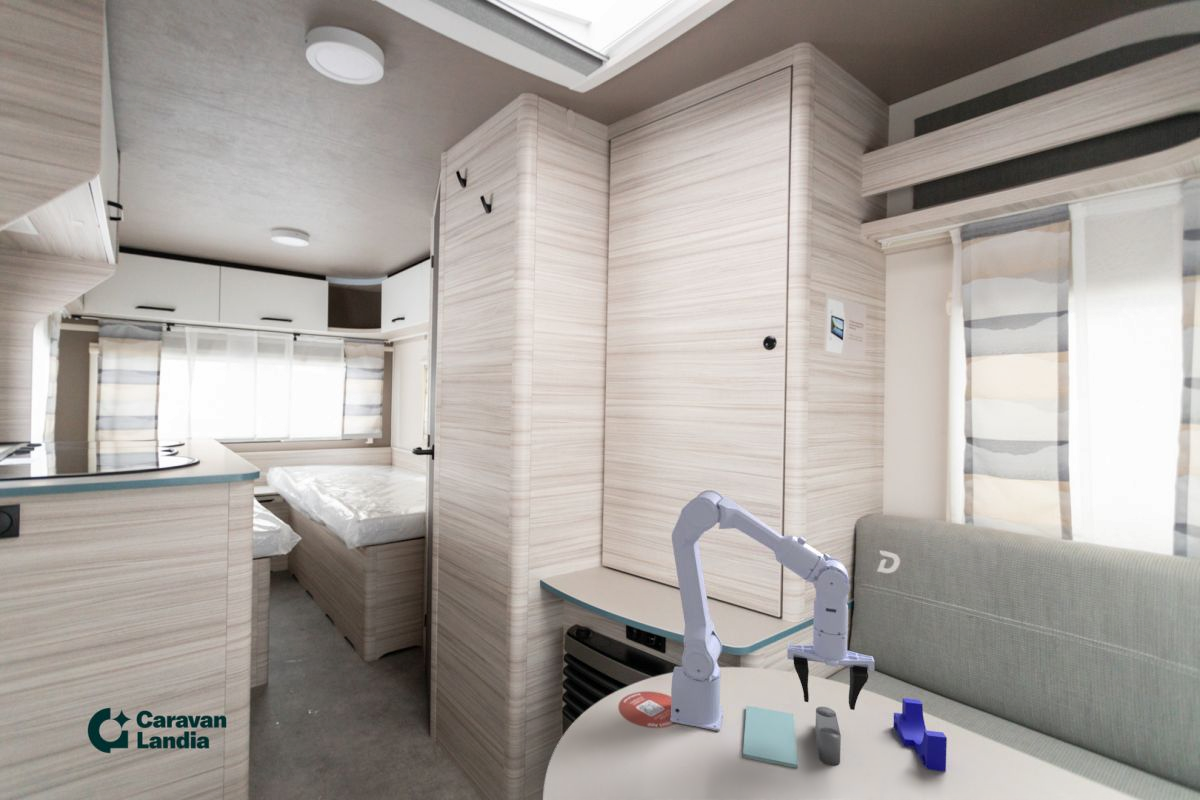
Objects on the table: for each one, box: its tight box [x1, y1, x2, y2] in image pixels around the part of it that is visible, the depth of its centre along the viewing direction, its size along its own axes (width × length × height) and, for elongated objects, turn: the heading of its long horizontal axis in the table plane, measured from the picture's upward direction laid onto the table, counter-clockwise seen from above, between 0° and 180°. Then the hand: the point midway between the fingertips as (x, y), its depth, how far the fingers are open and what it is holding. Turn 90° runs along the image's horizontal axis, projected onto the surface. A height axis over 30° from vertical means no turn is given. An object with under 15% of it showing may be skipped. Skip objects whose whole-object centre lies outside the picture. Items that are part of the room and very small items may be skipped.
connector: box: [814, 706, 842, 766], centre depth 101 cm, size 4×12×4 cm, turn 163°
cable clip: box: [893, 697, 948, 772], centre depth 101 cm, size 12×4×6 cm, turn 170°
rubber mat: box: [742, 705, 799, 769], centre depth 103 cm, size 9×16×1 cm, turn 163°
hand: (828, 703), depth 100 cm, fingers open, 7 cm apart
